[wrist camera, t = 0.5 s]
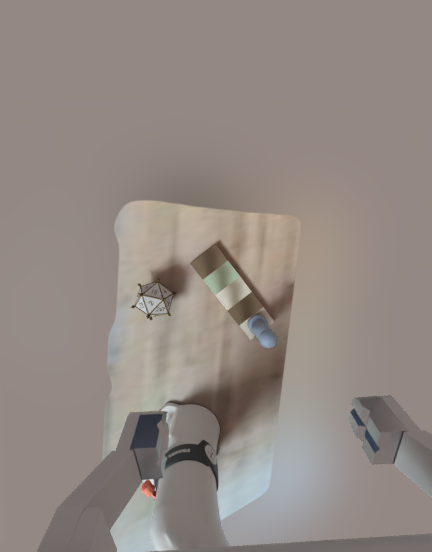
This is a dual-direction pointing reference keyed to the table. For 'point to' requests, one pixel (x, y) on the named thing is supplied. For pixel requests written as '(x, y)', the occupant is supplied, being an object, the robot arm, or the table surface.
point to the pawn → (262, 331)
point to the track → (229, 288)
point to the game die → (154, 299)
